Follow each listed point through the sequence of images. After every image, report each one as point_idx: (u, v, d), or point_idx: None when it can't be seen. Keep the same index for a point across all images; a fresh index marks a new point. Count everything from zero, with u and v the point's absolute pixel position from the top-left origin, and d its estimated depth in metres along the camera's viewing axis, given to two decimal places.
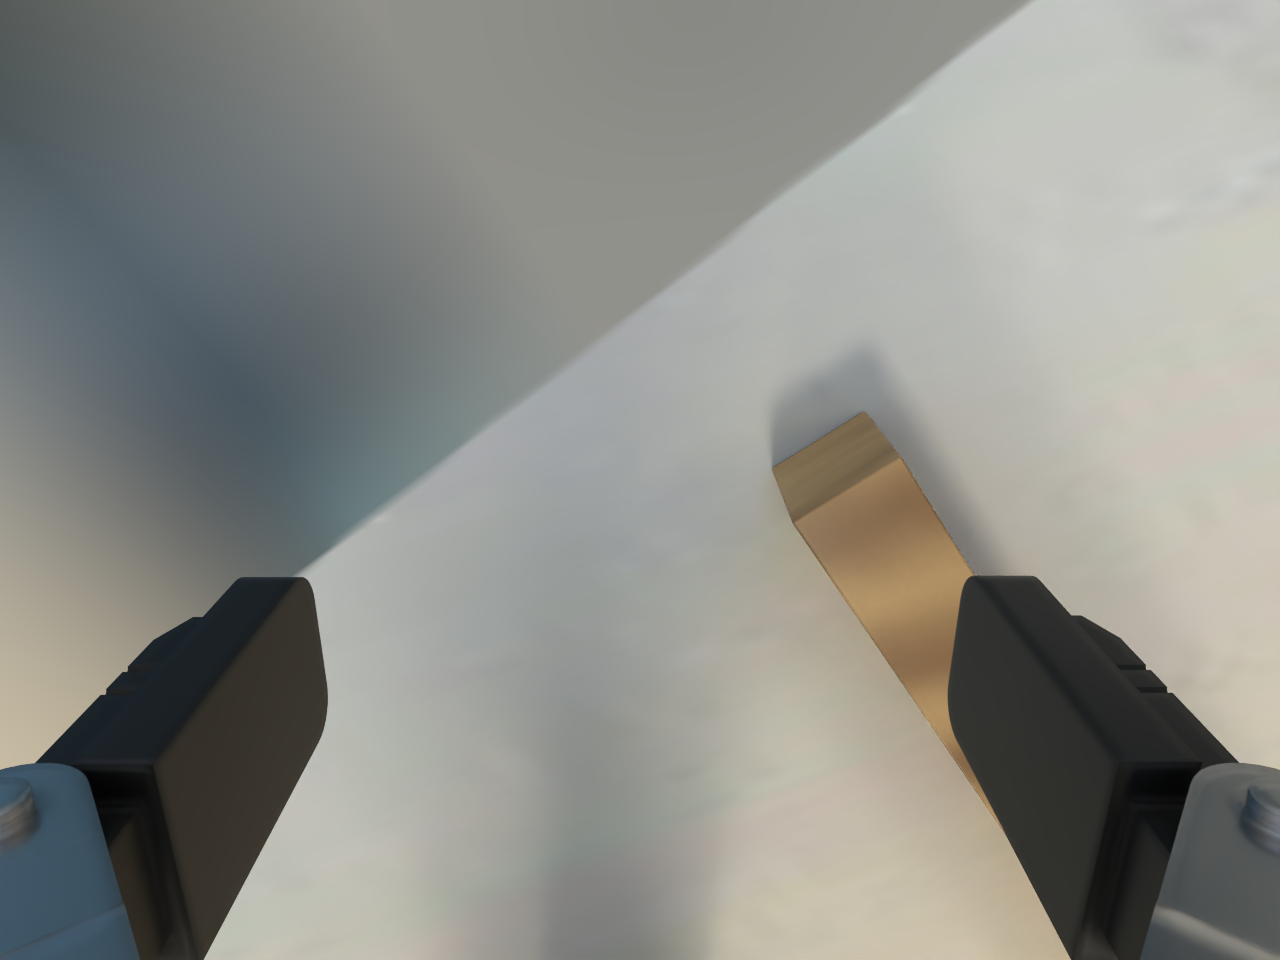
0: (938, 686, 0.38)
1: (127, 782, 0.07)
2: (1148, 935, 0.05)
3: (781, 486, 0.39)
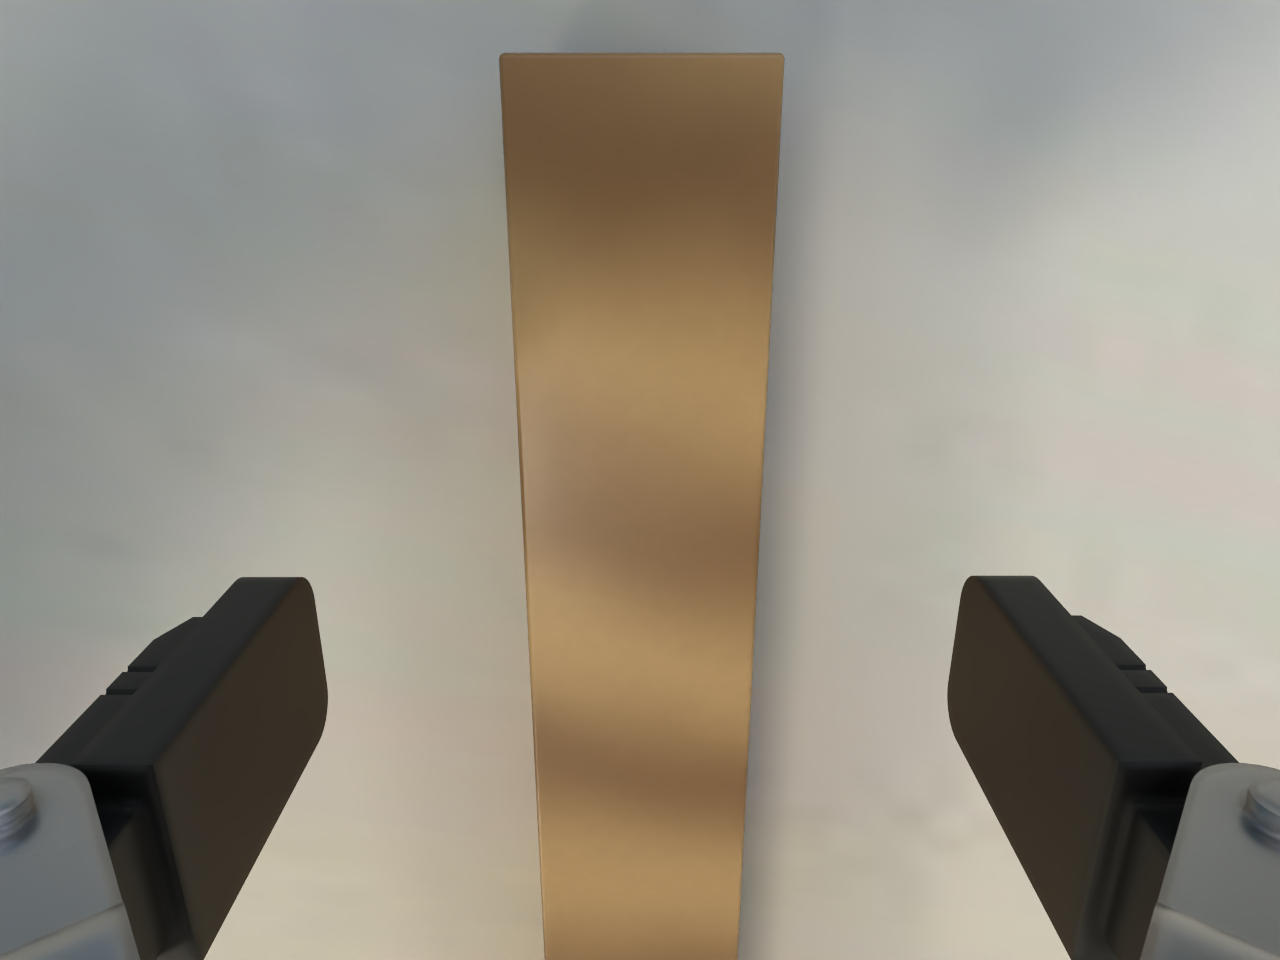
0: (583, 583, 0.19)
1: (127, 783, 0.07)
2: (1148, 935, 0.05)
3: None
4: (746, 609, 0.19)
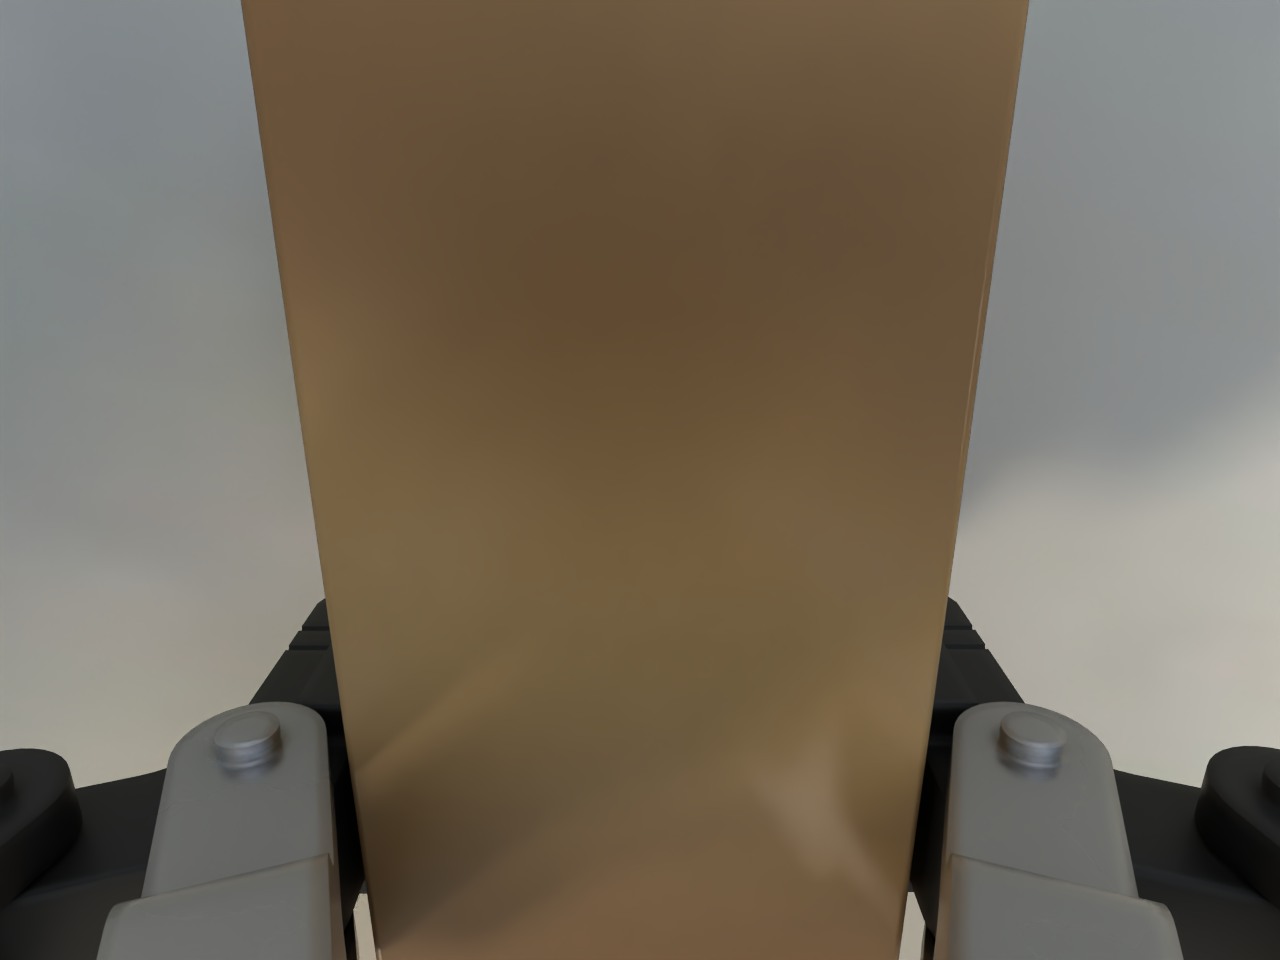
0: None
1: None
2: (952, 889, 0.05)
3: None
4: None
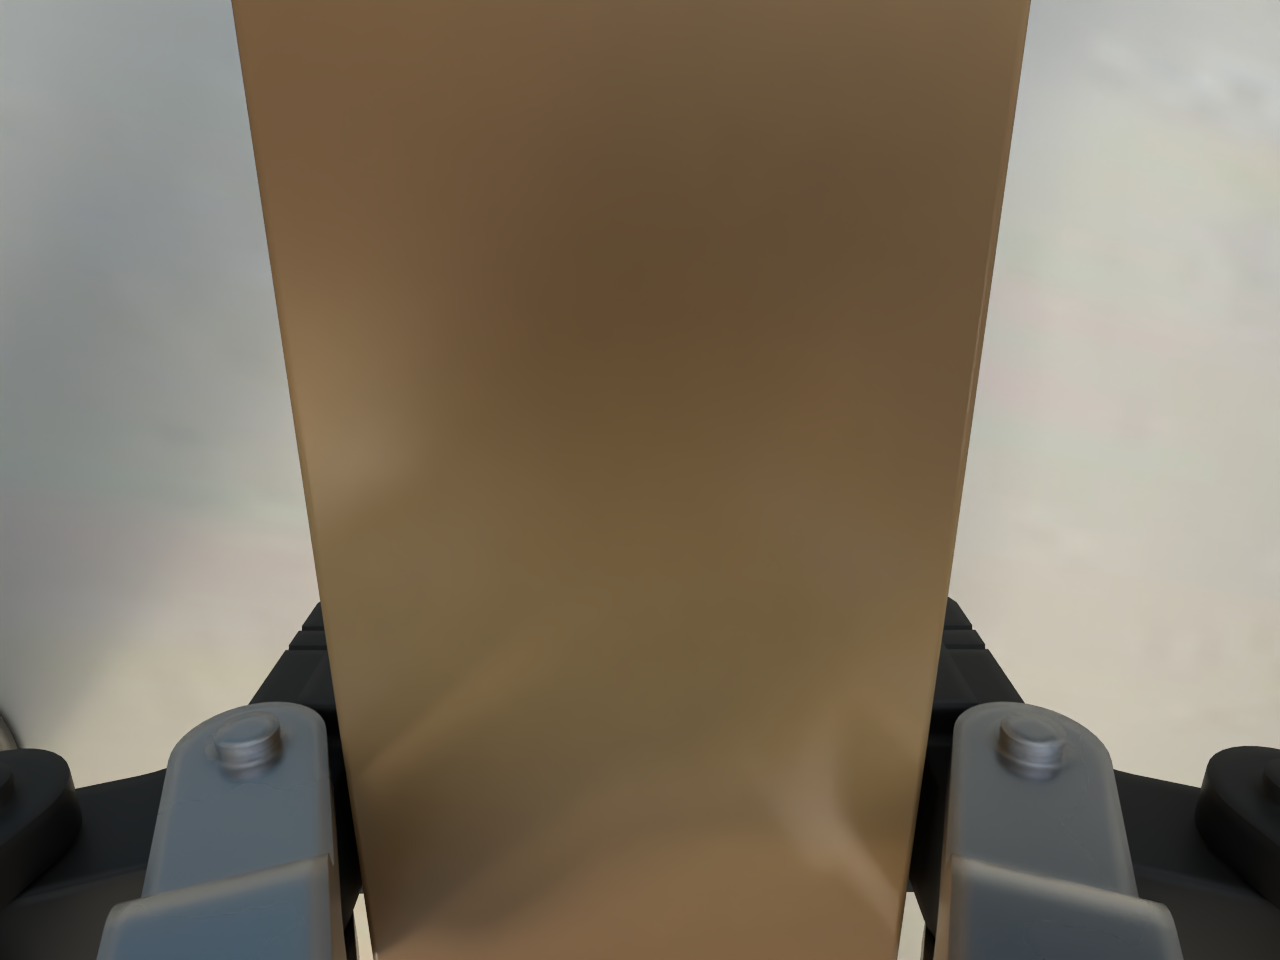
0: None
1: None
2: (953, 889, 0.05)
3: None
4: None
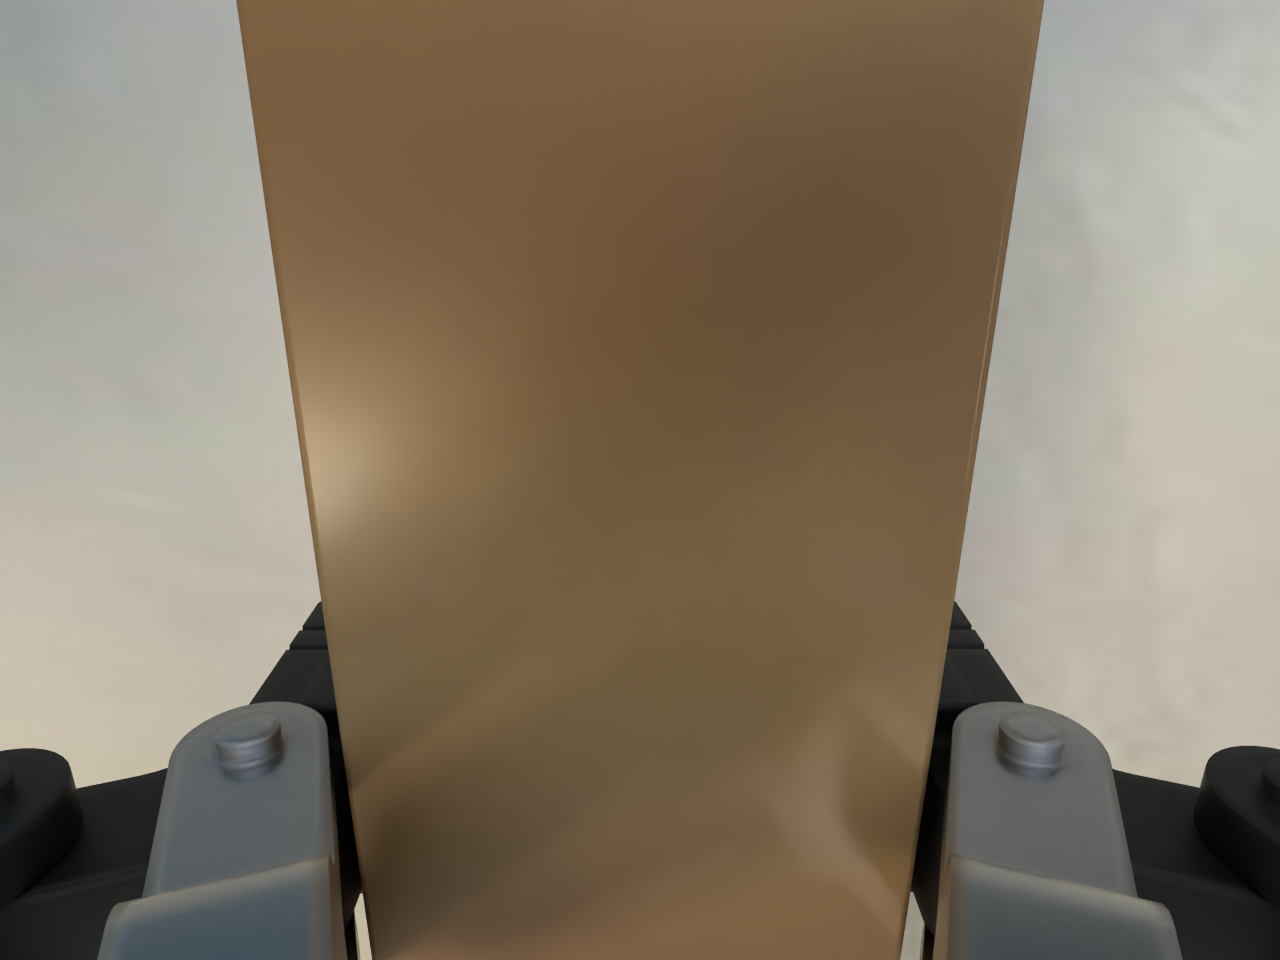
0: None
1: None
2: (952, 889, 0.05)
3: None
4: None
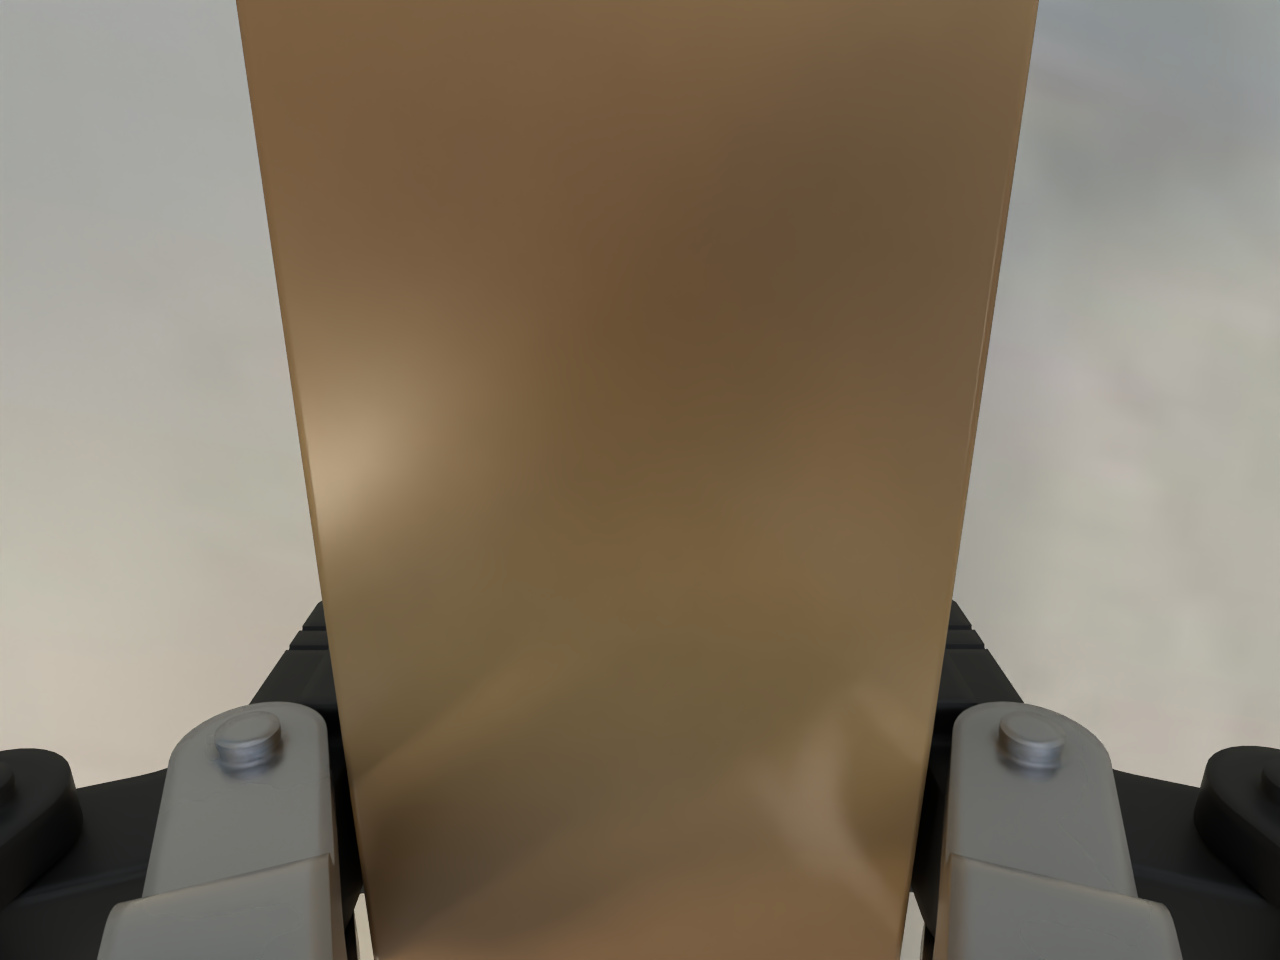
0: None
1: None
2: (952, 889, 0.05)
3: None
4: None
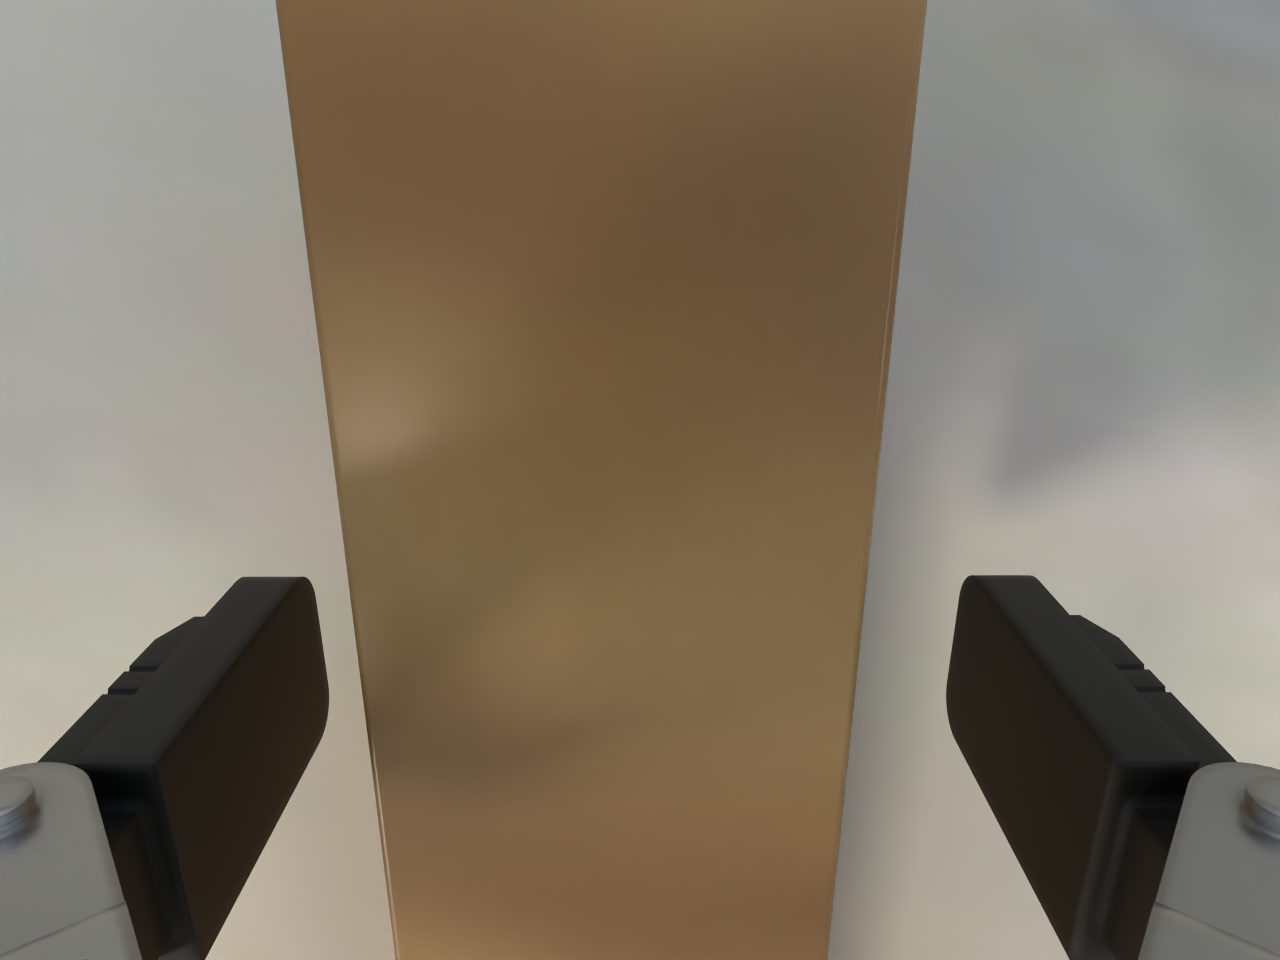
0: None
1: (129, 782, 0.07)
2: (1146, 934, 0.05)
3: None
4: None
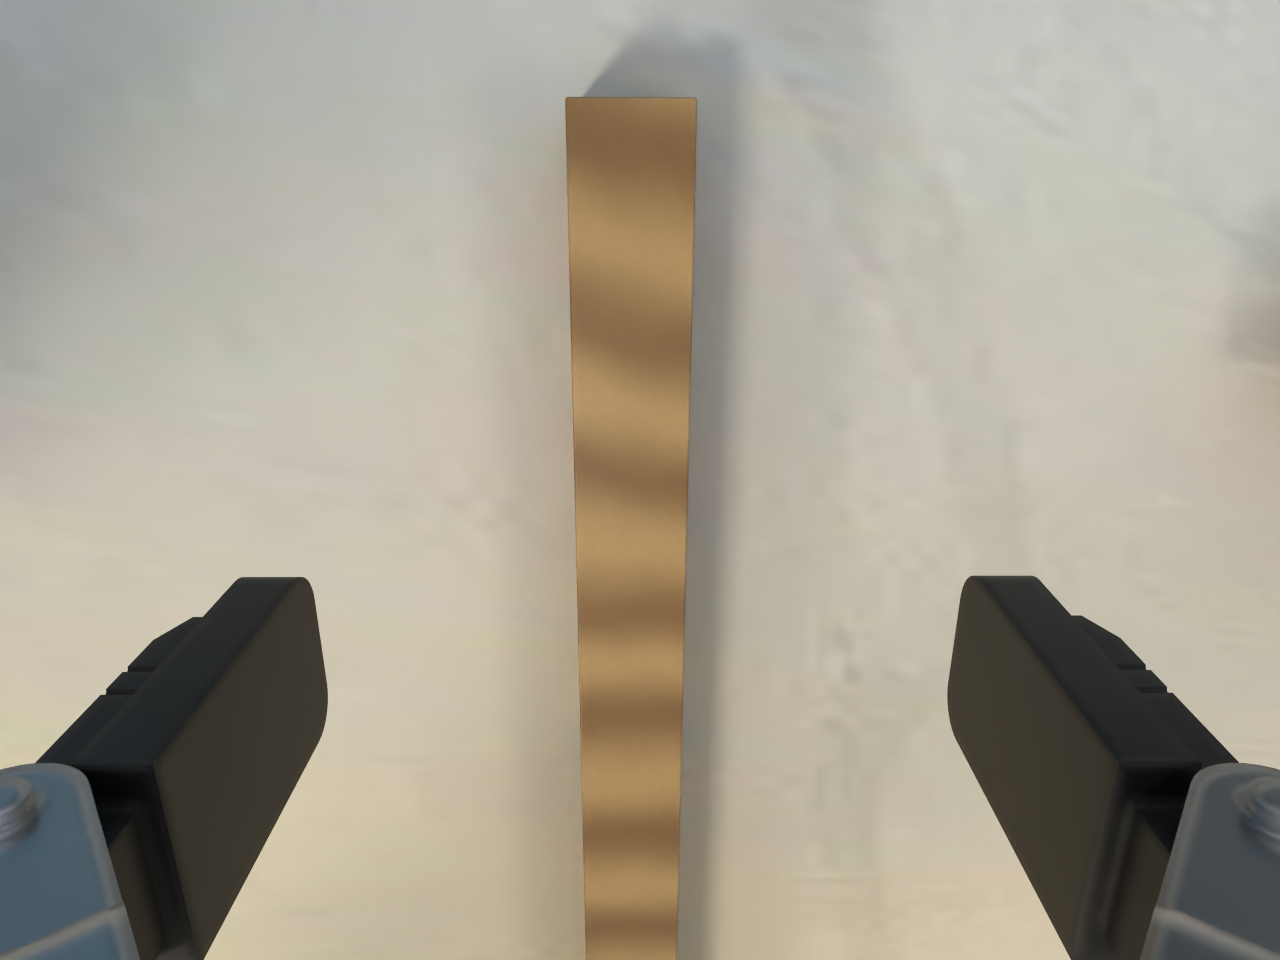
0: (601, 364, 0.36)
1: (127, 783, 0.07)
2: (1148, 935, 0.05)
3: None
4: (685, 380, 0.37)
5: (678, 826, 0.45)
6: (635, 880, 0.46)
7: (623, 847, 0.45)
